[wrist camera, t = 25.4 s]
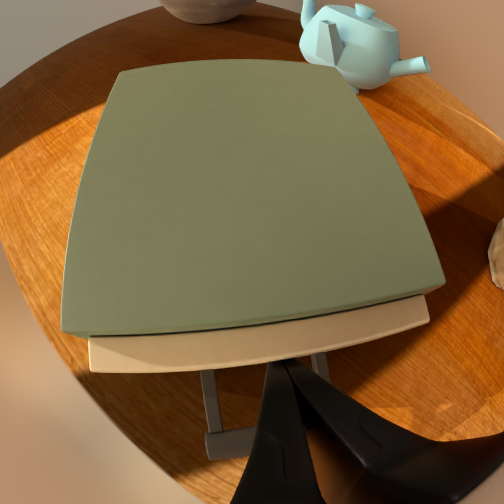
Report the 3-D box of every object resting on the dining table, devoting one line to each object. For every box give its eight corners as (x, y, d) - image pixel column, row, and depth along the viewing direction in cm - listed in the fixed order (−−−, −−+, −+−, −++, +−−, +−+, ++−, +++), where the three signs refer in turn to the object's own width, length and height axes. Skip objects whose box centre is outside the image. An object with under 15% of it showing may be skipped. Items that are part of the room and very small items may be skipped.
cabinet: (356, 325, 16) (447, 283, 9) (137, 353, 14) (59, 331, 7) (306, 151, 22) (335, 66, 14) (143, 160, 20) (119, 71, 12)
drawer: (369, 409, 13) (445, 420, 7) (155, 444, 12) (111, 488, 5) (310, 163, 20) (336, 94, 14) (145, 174, 19) (124, 100, 12)
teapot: (289, 89, 26) (310, -1, 16) (283, 46, 32) (296, -18, 22) (407, 118, 27) (445, 51, 17) (377, 68, 33) (400, 14, 23)
